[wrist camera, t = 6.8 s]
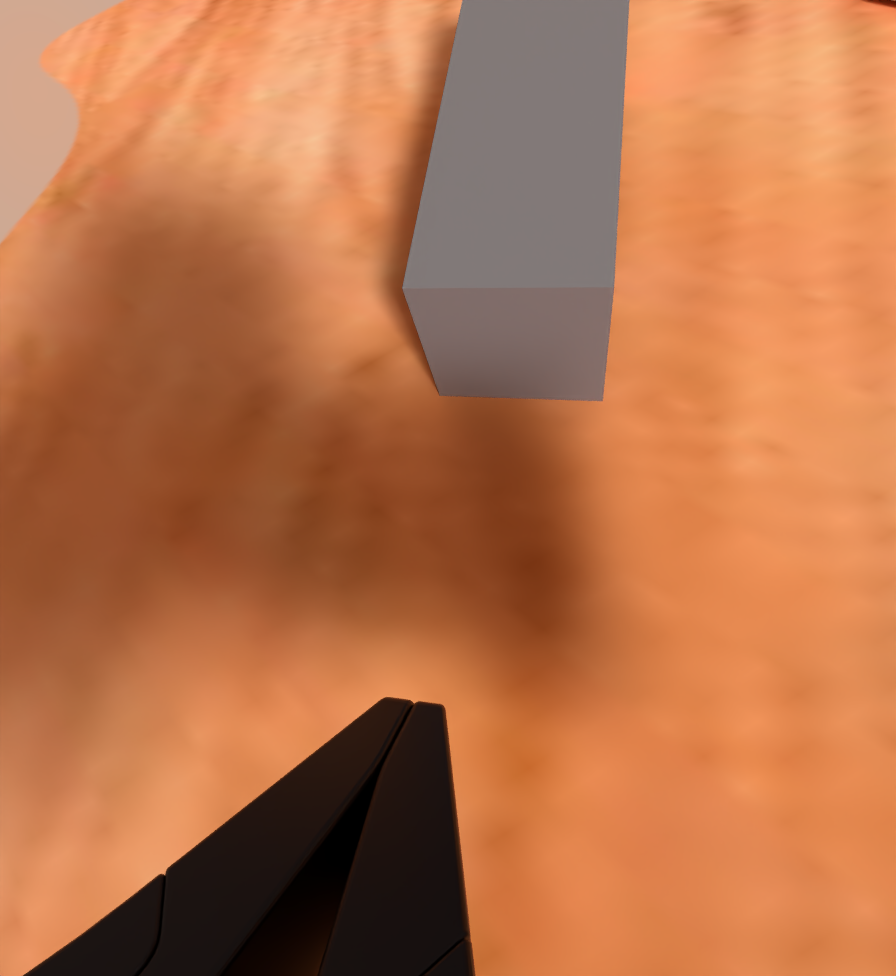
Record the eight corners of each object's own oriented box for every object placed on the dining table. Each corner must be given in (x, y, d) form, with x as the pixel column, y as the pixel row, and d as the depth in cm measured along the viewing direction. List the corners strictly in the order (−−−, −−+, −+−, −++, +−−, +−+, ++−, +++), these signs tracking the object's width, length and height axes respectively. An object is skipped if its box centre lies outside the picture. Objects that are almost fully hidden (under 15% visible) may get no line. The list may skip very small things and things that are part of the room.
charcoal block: (614, 287, 14) (632, -75, 19) (402, 288, 15) (474, -55, 20) (602, 401, 19) (620, 83, 24) (439, 396, 20) (490, 92, 25)
